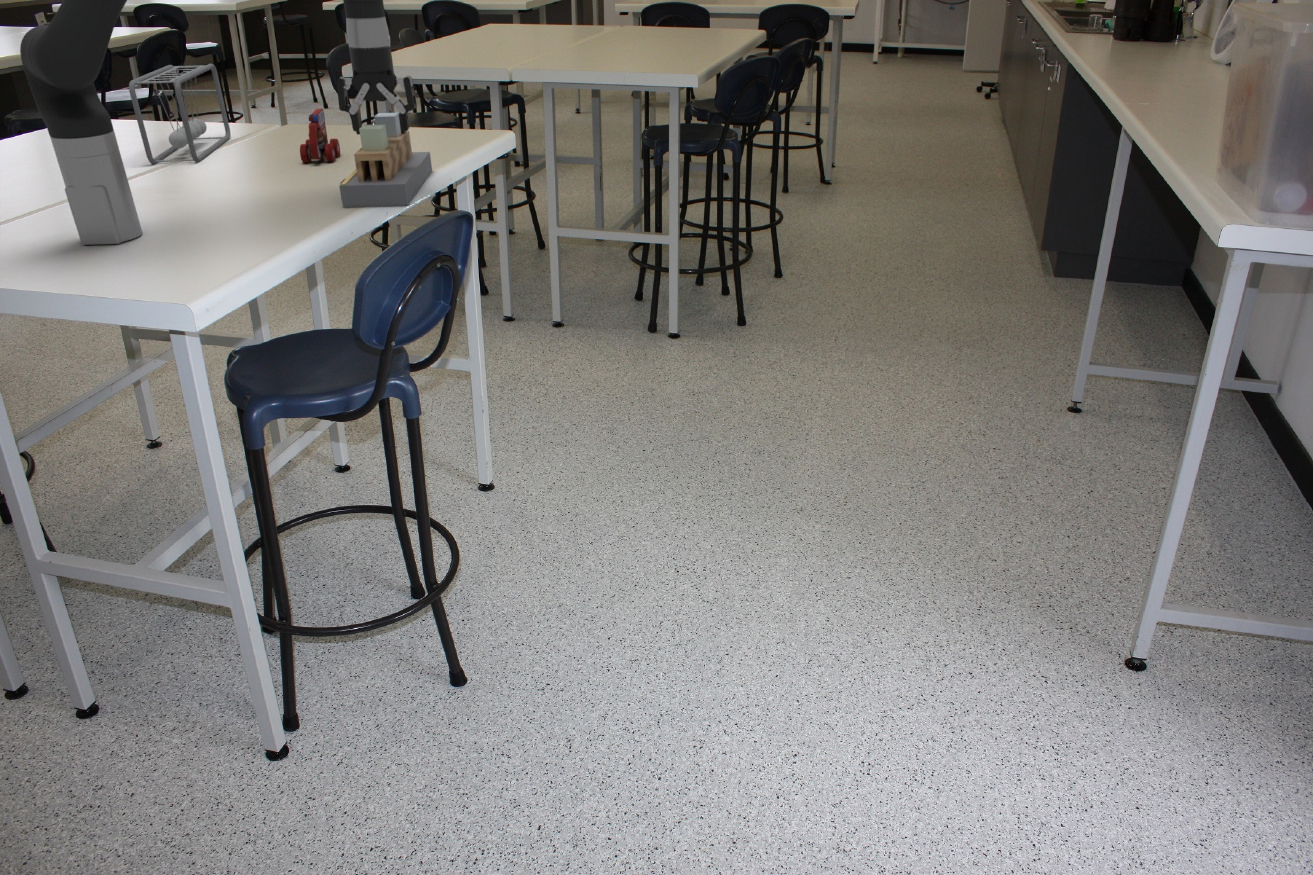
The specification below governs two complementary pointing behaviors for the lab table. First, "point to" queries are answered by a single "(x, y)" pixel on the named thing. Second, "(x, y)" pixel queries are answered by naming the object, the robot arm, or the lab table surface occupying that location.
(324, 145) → the toy fire truck
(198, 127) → the newton's cradle
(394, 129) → the block
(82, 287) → the lab table surface
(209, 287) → the lab table surface
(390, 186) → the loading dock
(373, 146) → the block
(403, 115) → the robot arm
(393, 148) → the tan wooden bar
